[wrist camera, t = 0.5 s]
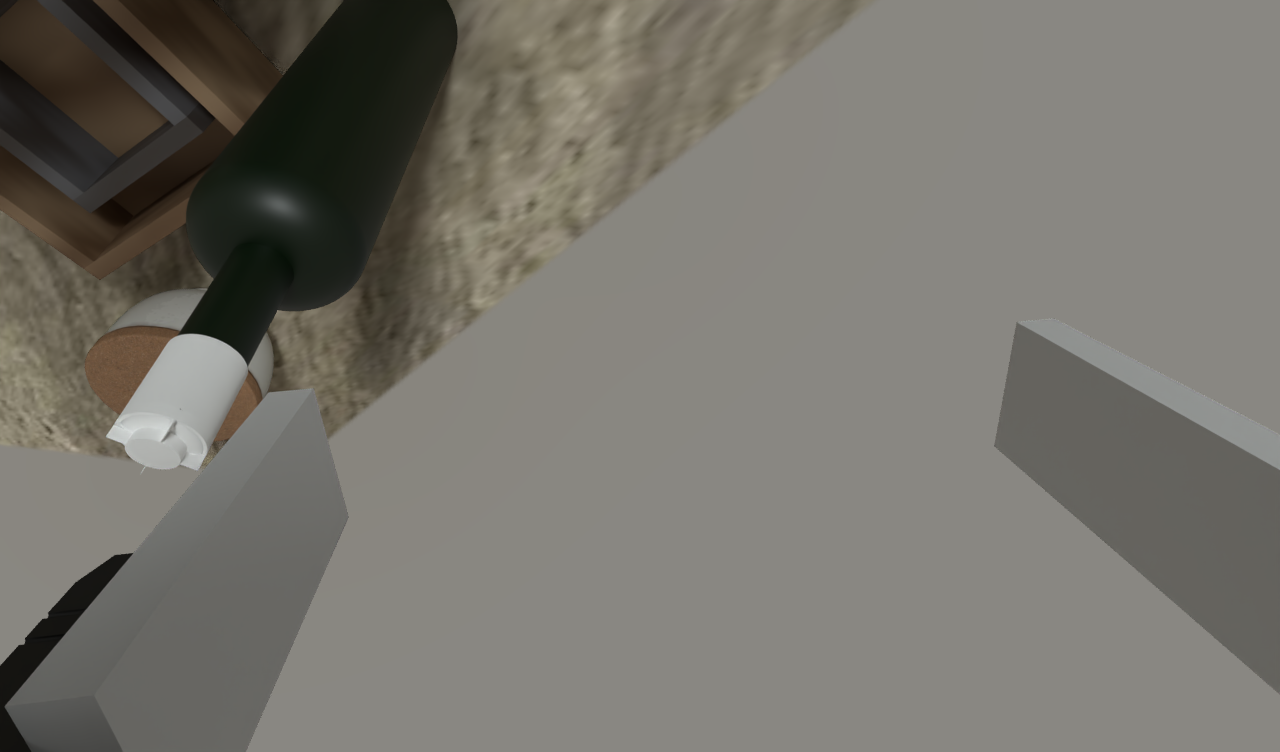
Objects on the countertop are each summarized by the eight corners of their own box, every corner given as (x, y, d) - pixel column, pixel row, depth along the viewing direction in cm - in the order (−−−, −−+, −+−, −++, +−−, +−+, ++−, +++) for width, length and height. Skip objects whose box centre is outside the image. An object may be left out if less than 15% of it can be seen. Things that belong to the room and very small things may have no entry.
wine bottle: (332, 30, 39) (-3, 463, 18) (380, -60, 36) (46, 335, 15) (425, 96, 42) (229, 539, 21) (477, 18, 39) (311, 445, 18)
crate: (-135, 3, 38) (-230, 47, 33) (41, -185, 32) (-46, -161, 28) (145, 225, 48) (99, 280, 43) (315, 110, 42) (281, 160, 38)
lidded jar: (116, 253, 49) (39, 345, 43) (278, 270, 51) (227, 362, 44) (166, 362, 57) (106, 454, 50) (305, 374, 58) (265, 466, 52)
